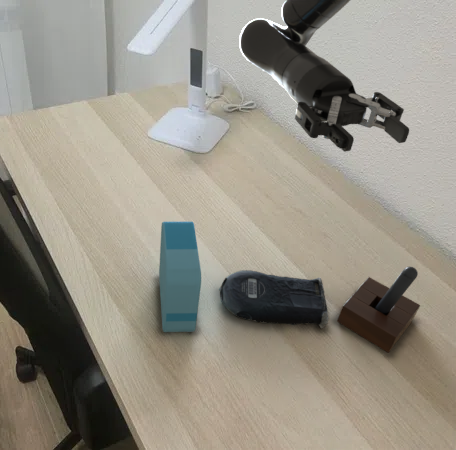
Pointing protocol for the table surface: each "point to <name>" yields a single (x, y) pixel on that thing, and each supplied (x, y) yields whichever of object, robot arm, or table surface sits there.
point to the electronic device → (274, 298)
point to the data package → (179, 277)
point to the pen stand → (377, 315)
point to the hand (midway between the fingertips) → (378, 141)
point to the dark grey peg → (397, 290)
